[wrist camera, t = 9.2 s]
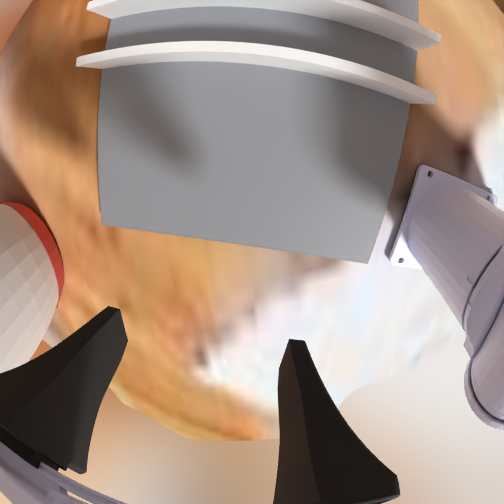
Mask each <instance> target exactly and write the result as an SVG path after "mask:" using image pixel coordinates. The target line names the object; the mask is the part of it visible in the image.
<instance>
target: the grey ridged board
mask: <svg viewBox="0 0 504 504" xmlns="http://www.w3.org/2000/svg"><path fill="white" fill-rule="evenodd" d="M87 10H89V11H92V12H95V13H97V14H100V15H102V16H105V17H107V18H110V19H111V22H110V26H109V31H108V36H107V42H106V47H105V51H101V52H97V53H92V54H88V55H84V56H80V57H77V60H76V66H77V67H88V68H97V69H102V76H101V85H100V96H99V111H98V180H99V196H100V208H101V218H102V225H105V226H113V227H120V228H127V229H134V230H141V231H148V232H155V233H163V234H170V235H177V236H184V237H191V238H198V239H205V240H211V241H218V242H225V243H232V244H239V245H246V246H253V247H259V248H266V249H273V250H280V251H286V252H293V253H300V254H307V255H313V256H320V257H326V258H333V259H340V260H346V261H353V262H359V263H366V264H368V261H369V259H370V256H371V253H372V250H373V248H374V245H375V242H376V239H377V236H378V233H379V230H380V227H381V224H382V221H383V218H384V215H385V211H386V208H387V205H388V201H389V198H390V194H391V191H392V187H393V184H394V180H395V176H396V172H397V168H398V164H399V160H400V156H401V151H402V147H403V142H404V138H405V133H406V128H407V122H408V117H409V111H410V105H411V104H432V105H435V103H436V96H437V95H436V94H434V93H432V92H430V91H427V90H425V89H423V88H421V87H419V86H417V85H414V76H415V67H416V57H417V50H421V49H424V48H427V47H431V46H435V45H438V44H441V35H439V34H438V33H436V32H434V31H432V30H430V29H428V28H426V27H424V26H422V25H420V24H418V0H93V1H90V2H89V3H88V7H87Z"/></svg>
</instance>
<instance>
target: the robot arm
mask: <svg viewBox="0 0 504 504" xmlns="http://www.w3.org/2000/svg"><path fill="white" fill-rule="evenodd" d="M429 171H430V172H431V173H430V176H428V172H429ZM486 198H487V199H486ZM496 205H497V197H496V196H495V195H493V194H491V193H489V192H487V191H485V190H483V189H481V188H479V187H477V186H475V185H472V184H470V183H468V182H466V181H464V180H461V179H459V178H457V177H454V176H452V175H450V174H447V173H445V172H442V171H440V170H437V169H435V168H432V167H430V166H427V165H424V164H422V165H420V166H419V167H418V169H417V173H416V176H415V180H414V184H413V187H412V191H411V194H410V197H409V201H408V204H407V207H406V210H405V213H404V217H403V220H402V223H401V225H400V228H399V231H398V234H397V237H396V240H395V242H394V245H393V248H392V250H391V253H390V256H389V261H390V263H391V264H392V265H397V266H403V267H409V268H415V269H422V270H424V271H425V273H426V274H427V275H428V277H429V278H430V280H431V281H432V282H433V284H434V285H435V287H436V288H437V289H438V291H439V292H440V294H441V295H442V297H443V298H444V300H445V301H446V303H447V304H448V306H449V307H450V309H451V310H452V312H453V313H454V315H455V316H456V318H457V320H458V321H459V323H460V324H461V326H462V328H463V329H464V331H465V333H466V340H465V342H464V347H465V348H466V350H467V352H468V354H469V356H470V358H471V359H470V361H469V363H468V365H467V367H466V371H465V376H464V388H465V393H466V397H467V400H468V402H469V405H470V407H471V408H472V410H473V411H474V413H475V414H476V416H477V417H478V418H479V419H480V420H481V421H483V422H484V423H486V424H487V425H489V426H491V427H493V428H497V429H502V430H504V212H503V211H502V210H500V209H499V208H497V207H496ZM400 258H402V259H401V260H400V261H398V260H399V259H400ZM127 342H128V339H127V335H126V332H125V328H124V324H123V320H122V316H121V311H120V309H117V308H114V307H110V306H108V307H107V308H105V309H104V310H103V311H101V312H100V313H99V314H97V315H96V316H95V317H94V318H92V319H91V320H90V321H89V322H87V323H86V324H85V325H83V326H82V327H81V328H80V329H78V330H77V331H76V332H74V333H73V334H72V335H70V336H69V337H68V338H66V339H65V340H63V341H62V342H61V343H59V344H58V345H56V346H55V347H53V348H52V349H50V350H49V351H47V352H45V353H44V354H42V355H40V356H39V357H37V358H35V359H33V360H31V361H29V362H27V363H25V364H23V365H21V366H18V367H16V368H13V369H11V370H8V371H5V372H3V373H0V491H1V492H2V493H3V494H4V495H5V496H6V497H7V498H8V499H9V500H10V501H11V502H12V503H13V504H88V503H85V502H83V501H81V500H79V499H76V498H74V497H72V496H69V495H68V493H67V491H69V492H71V493H73V494H75V495H77V496H79V497H81V498H83V499H85V500H87V501H89V502H91V503H93V504H126V503H123V502H121V501H118V500H115V499H113V498H110V497H108V496H105V495H103V494H101V493H99V492H96V491H94V490H92V489H90V488H88V487H86V486H84V485H81V484H80V483H78V482H76V481H74V480H72V479H70V478H68V477H66V476H65V475H63V474H61V473H59V472H58V469H59V468H61V469H63V470H64V471H66V470H67V468H69V469H71V470H73V471H75V472H77V473H79V474H83V473H85V472H86V471H87V460H88V452H89V446H90V441H91V436H92V432H93V428H94V424H95V420H96V417H97V413H98V410H99V407H100V404H101V402H102V399H103V397H104V395H105V392H106V390H107V388H108V386H109V384H110V382H111V380H112V378H113V376H114V374H115V372H116V370H117V368H118V366H119V364H120V361H121V359H122V356H123V354H124V351H125V348H126V345H127ZM278 407H279V428H280V447H279V460H278V470H277V479H276V487H275V495H274V501H273V504H381V503H384V502H387V501H389V500H392V499H395V498H397V497H399V495H400V489H399V482H398V479H397V475H396V474H395V473H393V472H392V471H391V470H390V469H389V468H387V467H386V466H385V465H384V464H383V463H382V462H381V461H380V460H378V459H377V457H376V456H375V455H374V454H373V453H372V452H371V451H370V450H369V449H368V448H367V447H366V446H365V445H364V444H363V442H361V440H360V439H359V438H358V437H357V435H356V434H355V433H354V432H353V430H352V429H351V428H350V427H349V425H348V424H347V422H346V421H345V419H344V418H343V417H342V415H341V414H340V412H339V410H338V409H337V407H336V406H335V404H334V402H333V400H332V399H331V397H330V395H329V393H328V392H327V390H326V388H325V386H324V384H323V382H322V380H321V378H320V376H319V374H318V372H317V369H316V367H315V365H314V363H313V360H312V358H311V355H310V353H309V350H308V348H307V345H306V343H305V341H303V340H293V339H289V341H288V344H287V347H286V350H285V353H284V356H283V359H282V362H281V364H280V367H279V377H278Z"/></svg>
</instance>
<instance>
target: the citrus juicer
mask: <svg viewBox="0 0 504 504" xmlns="http://www.w3.org/2000/svg"><path fill="white" fill-rule="evenodd" d="M63 284H64V268H63V263H62V259H61V256H60V253H59V250H58V248H57V245H56V243H55V241H54V239H53V237H52V235H51V233H50V232H49V230H48V228H47V226H46V225H45V224H44V223H43V221H42V220H41V219H40V218H39V216H38V215H37V214H36V213H35V212H34V211H33V210H31V209H30V208H28V207H27V206H26V205H23V204H21V203H16V202H0V373H3V372H5V371H8V370H11V369H13V368H16V367H18V366H21V365H23V364H25V363H27V362H28V361H29V360H30V358H31V357H32V355H33V354H34V352H35V350H36V349H37V347H38V345H39V343H40V342H41V340H42V339H43V337H44V335H45V333H46V330H47V328H48V326H49V324H50V322H51V319H52V316H53V314H54V311H55V309H56V307H57V306H58V302H59V299H60V295H61V292H62V288H63Z"/></svg>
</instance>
